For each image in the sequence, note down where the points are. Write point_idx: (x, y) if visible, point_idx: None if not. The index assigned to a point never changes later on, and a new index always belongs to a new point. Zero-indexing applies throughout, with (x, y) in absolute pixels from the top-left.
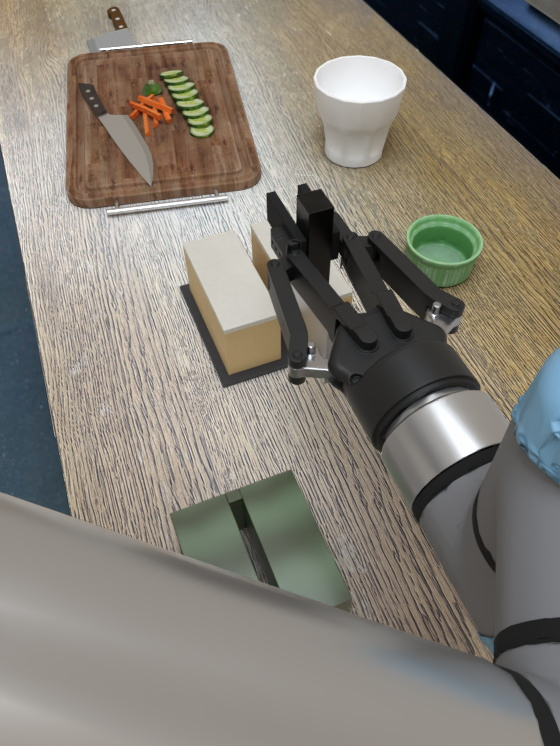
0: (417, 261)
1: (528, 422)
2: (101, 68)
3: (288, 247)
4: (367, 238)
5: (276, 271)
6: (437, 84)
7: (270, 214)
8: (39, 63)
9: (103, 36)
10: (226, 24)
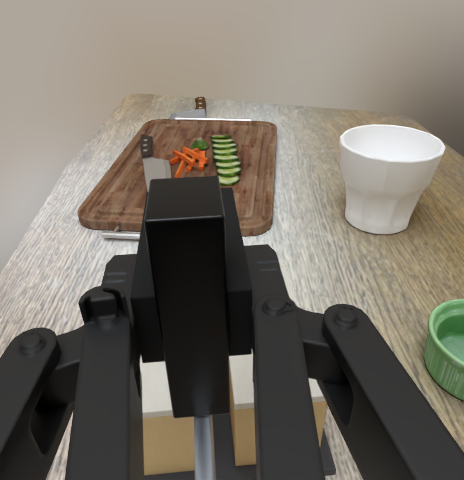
0: (442, 360)
1: None
2: (168, 128)
3: (90, 304)
4: (323, 321)
5: (15, 367)
6: None
7: None
8: (127, 123)
9: (184, 112)
10: (284, 114)
